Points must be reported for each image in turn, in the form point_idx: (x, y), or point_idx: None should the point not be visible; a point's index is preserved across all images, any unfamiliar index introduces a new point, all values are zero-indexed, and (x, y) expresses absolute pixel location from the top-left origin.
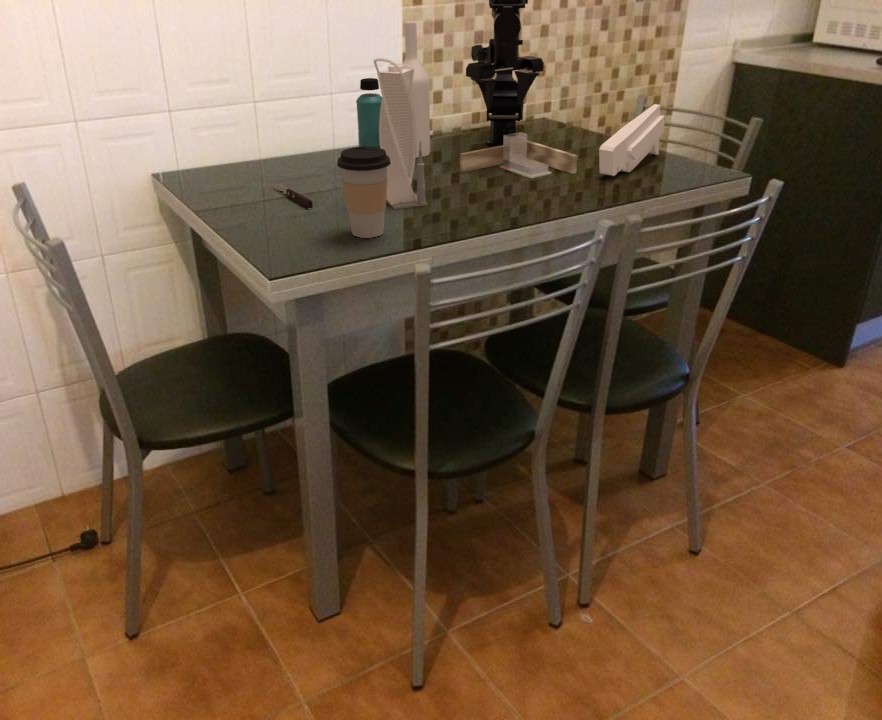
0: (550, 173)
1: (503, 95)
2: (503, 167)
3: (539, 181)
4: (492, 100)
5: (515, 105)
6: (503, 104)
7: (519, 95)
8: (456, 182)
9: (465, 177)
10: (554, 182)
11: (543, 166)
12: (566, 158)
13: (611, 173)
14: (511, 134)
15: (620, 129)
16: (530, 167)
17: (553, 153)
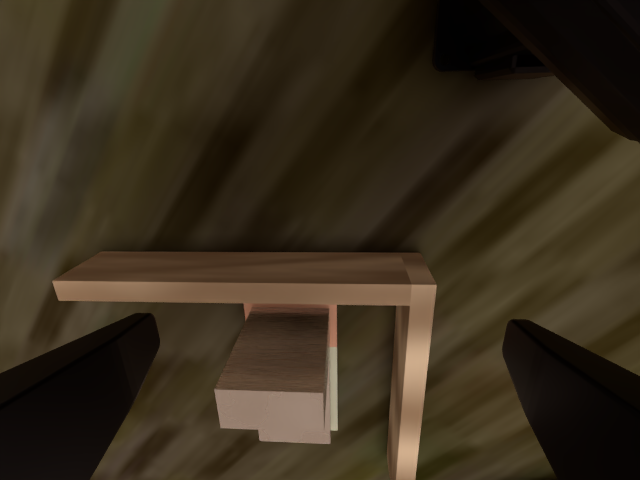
0: (333, 428)
1: (637, 19)
2: (246, 318)
3: (264, 446)
4: (114, 431)
5: (634, 137)
6: (556, 49)
7: (550, 397)
8: (48, 335)
9: (92, 313)
10: (292, 469)
11: (308, 442)
12: (393, 472)
13: None
14: (255, 399)
15: None
16: (265, 431)
17: (397, 427)
